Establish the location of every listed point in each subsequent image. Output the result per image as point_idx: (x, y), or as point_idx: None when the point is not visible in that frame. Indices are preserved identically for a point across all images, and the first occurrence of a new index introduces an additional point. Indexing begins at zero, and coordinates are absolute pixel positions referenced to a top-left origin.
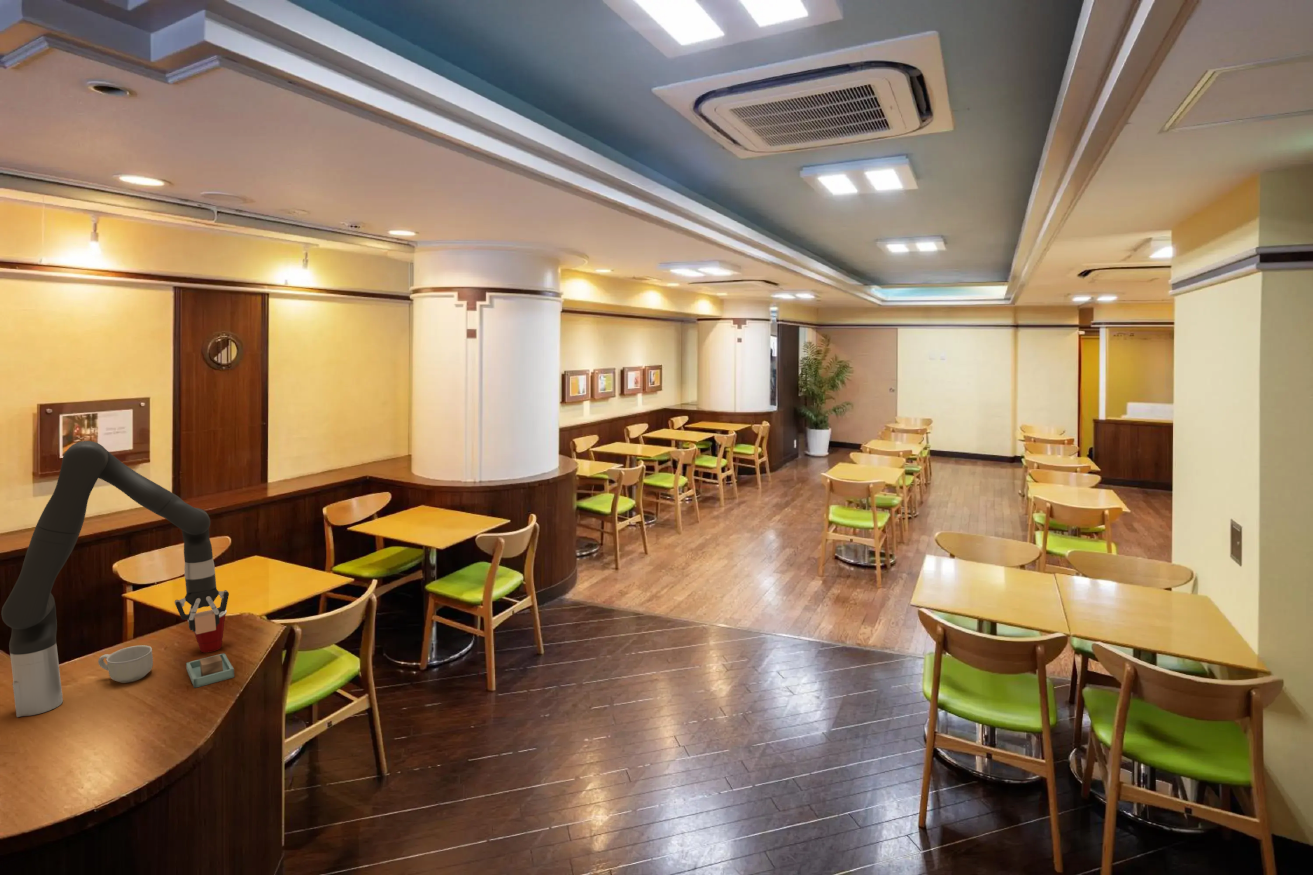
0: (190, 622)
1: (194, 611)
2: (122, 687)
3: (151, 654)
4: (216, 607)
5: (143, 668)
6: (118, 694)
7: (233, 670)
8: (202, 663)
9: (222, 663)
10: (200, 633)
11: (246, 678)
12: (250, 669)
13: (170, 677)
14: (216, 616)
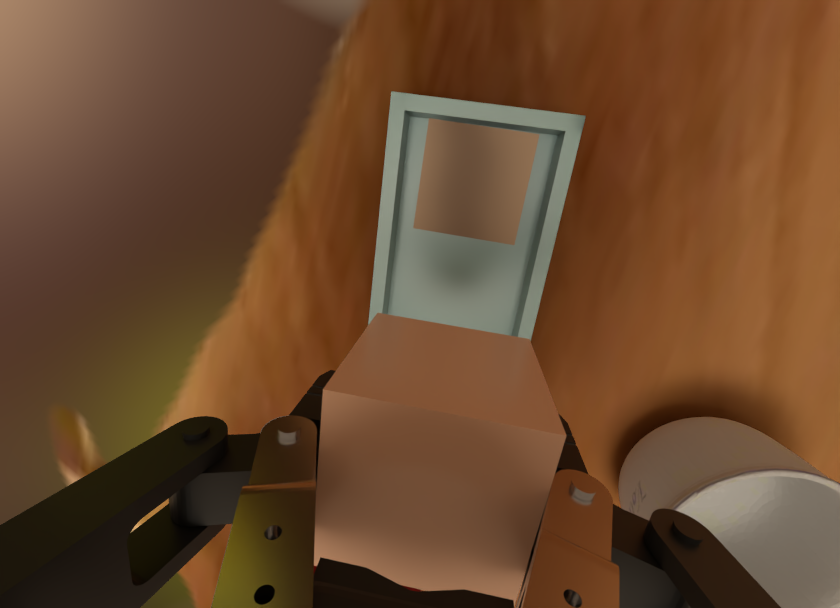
0: (572, 465)
1: (573, 549)
2: (754, 398)
3: (660, 498)
4: (249, 488)
5: (695, 433)
6: (803, 338)
7: (394, 94)
8: (525, 167)
9: (395, 295)
10: (496, 333)
11: (363, 27)
12: (320, 136)
13: (588, 342)
14: (317, 406)
